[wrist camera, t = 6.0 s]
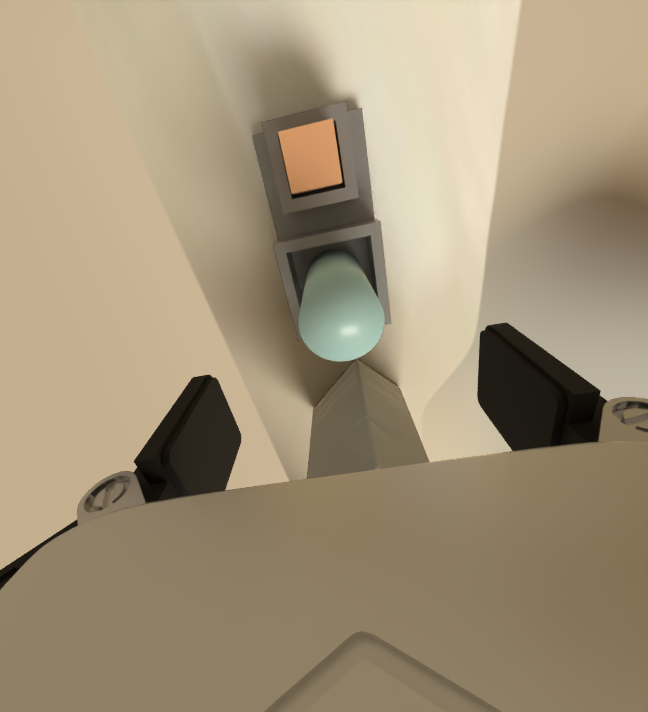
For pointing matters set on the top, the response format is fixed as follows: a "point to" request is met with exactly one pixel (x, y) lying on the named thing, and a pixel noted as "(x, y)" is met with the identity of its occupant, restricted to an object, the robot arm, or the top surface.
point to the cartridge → (339, 308)
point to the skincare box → (362, 427)
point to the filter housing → (323, 206)
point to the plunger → (311, 156)
